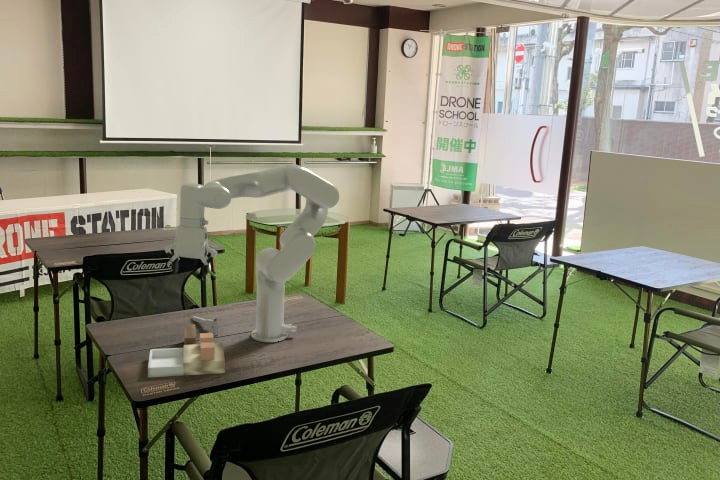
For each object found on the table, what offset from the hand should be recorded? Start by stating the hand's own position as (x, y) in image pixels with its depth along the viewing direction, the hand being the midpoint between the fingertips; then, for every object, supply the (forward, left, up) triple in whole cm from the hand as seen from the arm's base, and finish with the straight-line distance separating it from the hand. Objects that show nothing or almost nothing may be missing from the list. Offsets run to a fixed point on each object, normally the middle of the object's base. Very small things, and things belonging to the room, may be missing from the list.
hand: (189, 274), depth 203 cm
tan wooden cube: (-5, +20, -21) cm, 29 cm away
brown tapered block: (0, +2, -25) cm, 25 cm away
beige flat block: (-4, +16, -25) cm, 30 cm away
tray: (+7, +16, -25) cm, 30 cm away
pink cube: (-5, +12, -21) cm, 24 cm away
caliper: (-5, -17, -25) cm, 31 cm away
